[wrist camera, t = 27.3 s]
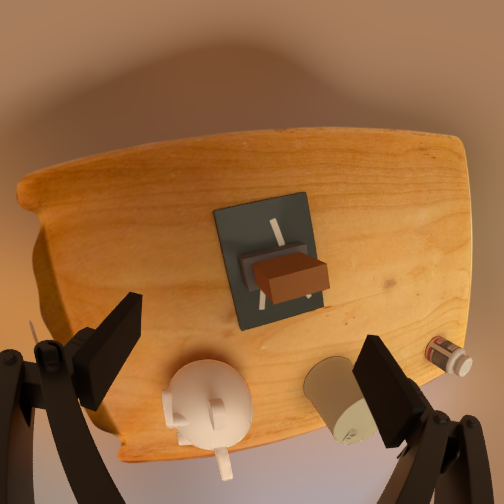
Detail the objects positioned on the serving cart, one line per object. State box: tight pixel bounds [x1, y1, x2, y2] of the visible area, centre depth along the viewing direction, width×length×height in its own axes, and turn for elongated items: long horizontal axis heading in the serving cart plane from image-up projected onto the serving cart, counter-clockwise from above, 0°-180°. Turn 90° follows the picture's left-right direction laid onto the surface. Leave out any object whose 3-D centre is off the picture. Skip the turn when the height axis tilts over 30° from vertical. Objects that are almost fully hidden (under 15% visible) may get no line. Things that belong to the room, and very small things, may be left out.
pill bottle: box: [425, 336, 472, 377], centre depth 44 cm, size 5×5×10 cm
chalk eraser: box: [239, 242, 330, 304], centre depth 33 cm, size 4×8×10 cm, turn 102°
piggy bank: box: [161, 359, 253, 481], centre depth 33 cm, size 12×12×15 cm
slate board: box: [213, 192, 324, 331], centre depth 38 cm, size 16×12×1 cm
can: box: [304, 357, 378, 444], centre depth 39 cm, size 9×9×12 cm
